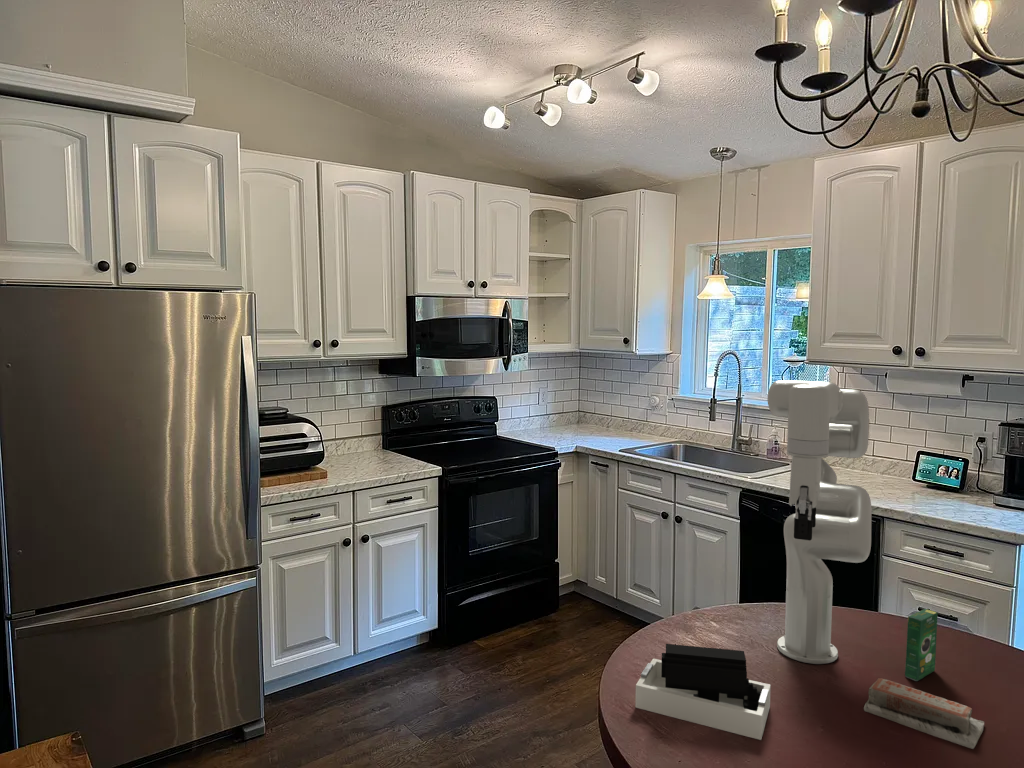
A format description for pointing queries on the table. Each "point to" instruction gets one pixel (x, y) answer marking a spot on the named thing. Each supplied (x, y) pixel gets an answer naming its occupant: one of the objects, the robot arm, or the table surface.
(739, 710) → the cradle
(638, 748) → the table surface
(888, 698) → the packaged product
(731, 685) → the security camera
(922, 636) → the coffee box
